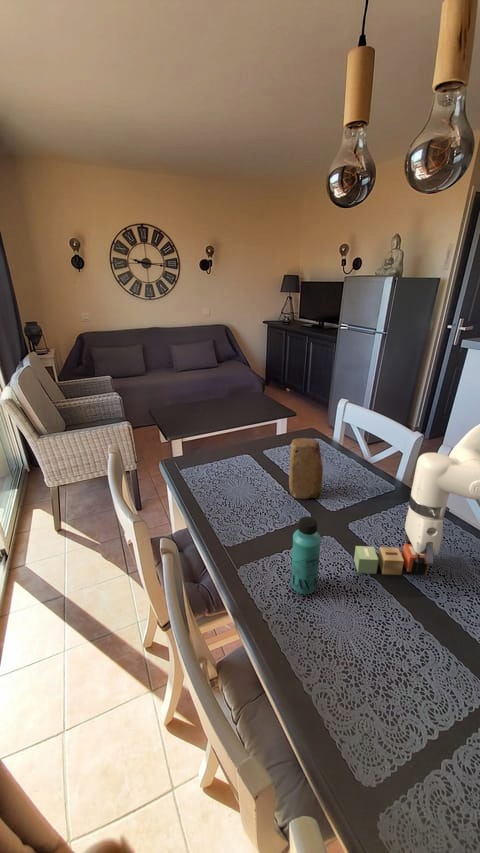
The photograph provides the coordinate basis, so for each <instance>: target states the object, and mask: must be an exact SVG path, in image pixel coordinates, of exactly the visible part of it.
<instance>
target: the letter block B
mask: <svg viewBox="0 0 480 853" xmlns="http://www.w3.org/2000/svg"><path fill="white" fill-rule="evenodd" d="M353 562H354V565H355V569H356V573H357V574H368V575H369V574H370V575H371V574H373V575H374V574H375V575H377V572H378V567H379V563H378V555H377V552H376V548H375V546H367V545H365V546H364V545H355V549H354V555H353Z"/></svg>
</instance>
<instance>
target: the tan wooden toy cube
mask: <svg viewBox="0 0 480 853" xmlns="http://www.w3.org/2000/svg"><path fill="white" fill-rule="evenodd" d="M378 548H379V549H378V555H377V557H378V567H379V569H380V572H381V574H382V575H391V576H393V575H394V576H402V573H403V569H404V568H403V567H404V560H403V558H402V553H401V551H400V549H399V547H392V546H391V547H390V546H379V547H378Z"/></svg>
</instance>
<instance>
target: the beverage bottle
mask: <svg viewBox="0 0 480 853" xmlns="http://www.w3.org/2000/svg"><path fill="white" fill-rule="evenodd" d="M321 542H322V537H321V535H320V533H319V532H318V522H317V520H316V519H315V518H314V517H312V516H309V515H308V516H302V517H301V518H299V520H298V525H297V529H296V530H295V531H294V533H293V535H292V551H291V554H292V555H291V566H290V576H289V577H290V579H289V580H290V584H291V588H292V589H293V590H294V591H295V592H296V593H298V594H301V595H310V594H312V593H314V592H315V591H316V589H317V588H318V584H319V583H318V580H319V575H320V574H319V568H320V556H321V552H320V551H321Z"/></svg>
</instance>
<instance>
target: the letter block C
mask: <svg viewBox="0 0 480 853" xmlns="http://www.w3.org/2000/svg"><path fill="white" fill-rule="evenodd" d="M401 555H402V558H403V560H404V563H403V567H404V568H405V570H406V572H408V573H411V568H412V563H413V559H415V555H416V551H415V549H414V548H413V546H412V544H408V543H404V544H403V546H402V553H401ZM421 557H422V558H425V554H420V558H421ZM428 568H429V564H427V567H426V572H425V574H426V573H427V572H428Z"/></svg>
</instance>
